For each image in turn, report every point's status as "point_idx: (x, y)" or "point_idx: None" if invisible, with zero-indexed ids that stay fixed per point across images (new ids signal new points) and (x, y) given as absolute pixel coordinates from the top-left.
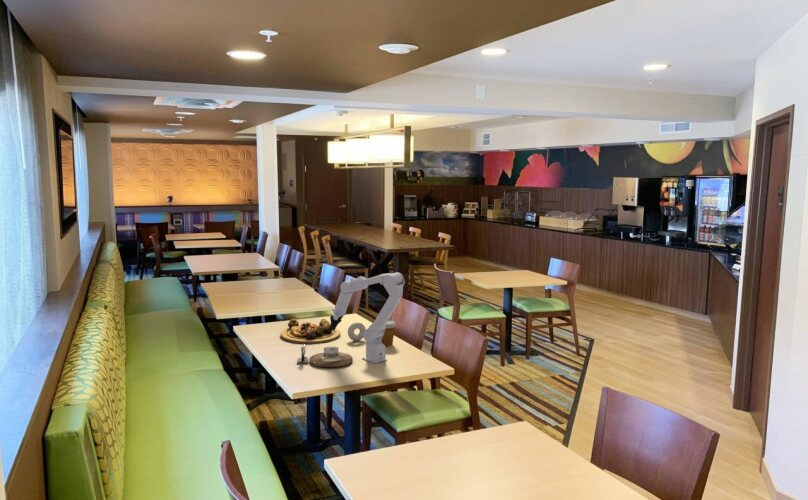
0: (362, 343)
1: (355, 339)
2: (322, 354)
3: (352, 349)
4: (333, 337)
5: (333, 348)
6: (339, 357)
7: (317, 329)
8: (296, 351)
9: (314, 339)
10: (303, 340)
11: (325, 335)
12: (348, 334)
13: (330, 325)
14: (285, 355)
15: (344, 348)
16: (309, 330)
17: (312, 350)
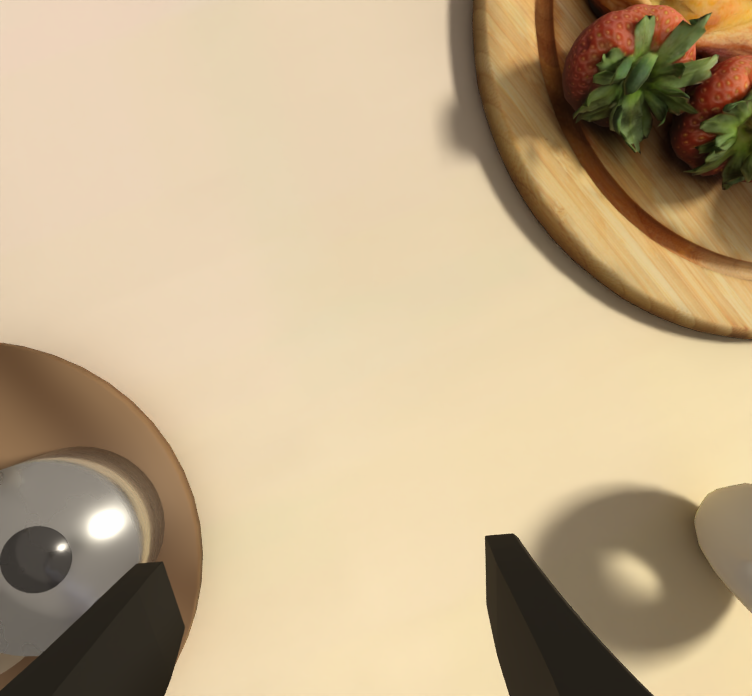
0: (654, 626)
1: (703, 552)
2: (61, 433)
3: (441, 608)
4: (698, 313)
5: (45, 589)
6: (6, 656)
7: (728, 107)
8: (214, 92)
9: (586, 144)
10: (508, 47)
11: (734, 211)
12: (725, 502)
13: (47, 648)
14: (48, 30)
15: (450, 520)
16: (656, 24)
17: (294, 237)
